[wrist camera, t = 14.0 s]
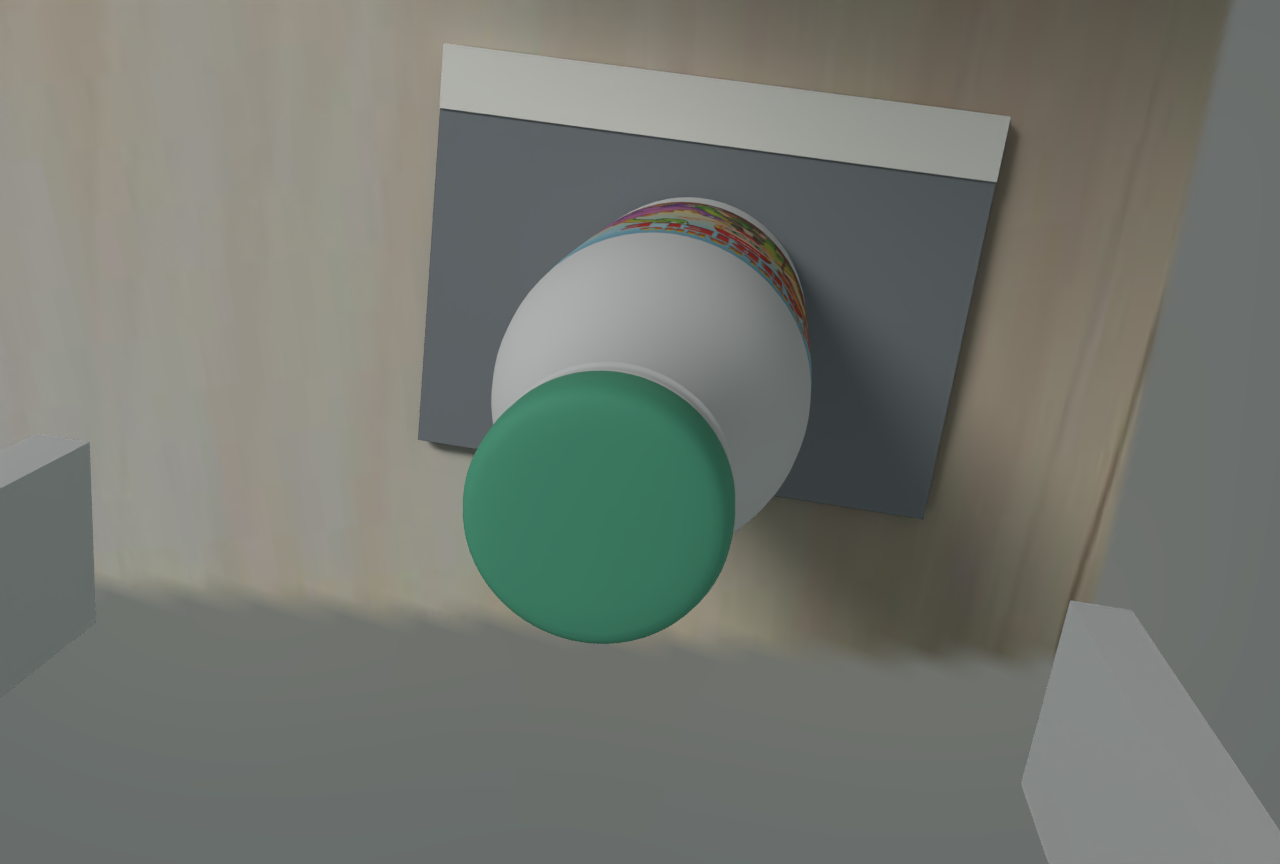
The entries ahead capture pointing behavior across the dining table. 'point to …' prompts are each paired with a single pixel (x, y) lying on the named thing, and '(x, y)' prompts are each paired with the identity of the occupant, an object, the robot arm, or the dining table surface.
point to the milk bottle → (639, 420)
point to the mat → (746, 179)
